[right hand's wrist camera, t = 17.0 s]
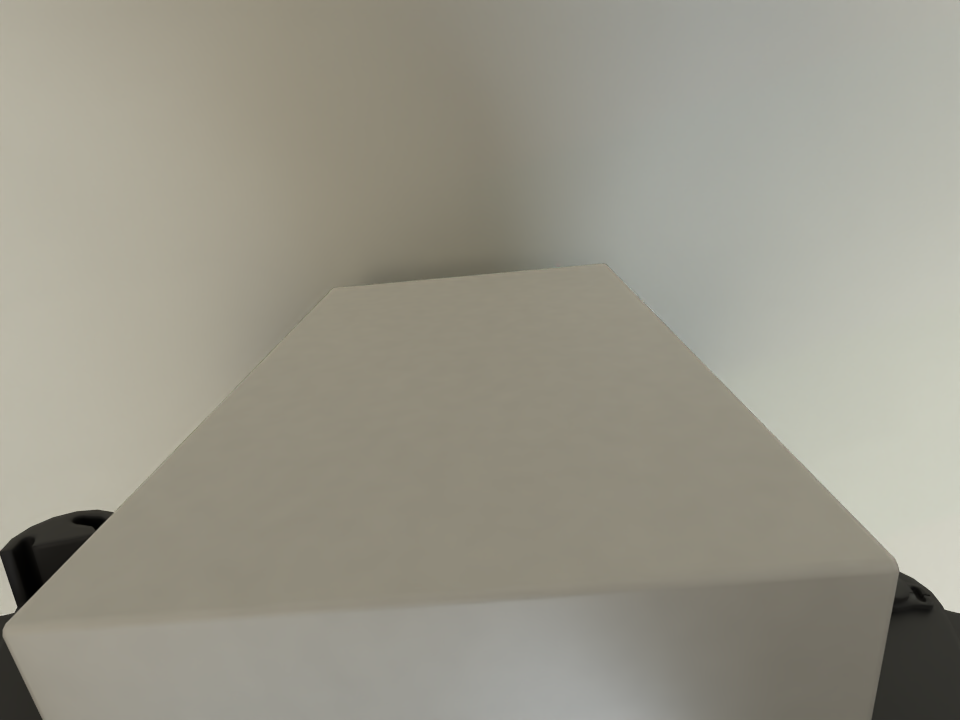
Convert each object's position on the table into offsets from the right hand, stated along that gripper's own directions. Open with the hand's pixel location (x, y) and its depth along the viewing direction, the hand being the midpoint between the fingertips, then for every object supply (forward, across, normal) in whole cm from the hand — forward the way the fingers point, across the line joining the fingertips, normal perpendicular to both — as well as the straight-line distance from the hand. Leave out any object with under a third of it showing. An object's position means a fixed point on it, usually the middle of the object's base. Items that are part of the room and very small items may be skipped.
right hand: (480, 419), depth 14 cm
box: (+1, +1, -10) cm, 10 cm away
